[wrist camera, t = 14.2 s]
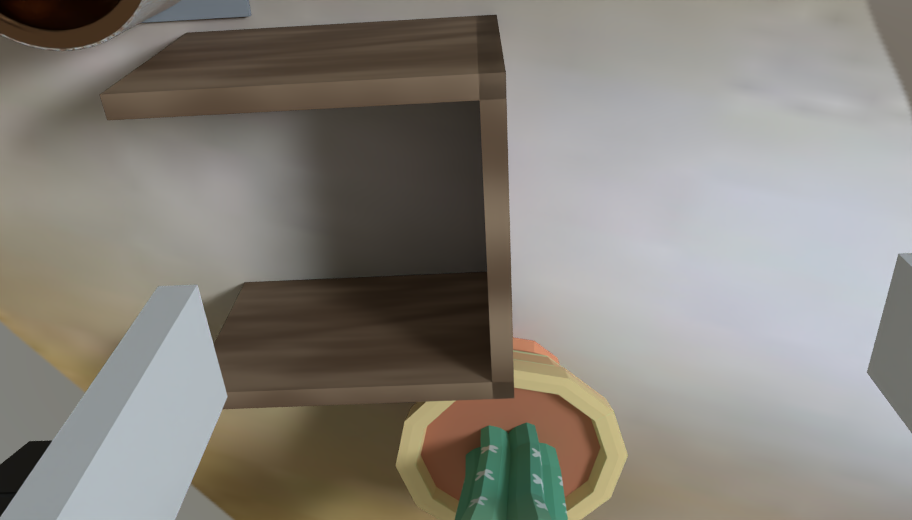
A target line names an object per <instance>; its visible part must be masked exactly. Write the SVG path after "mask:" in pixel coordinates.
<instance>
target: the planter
mask: <svg viewBox="0 0 912 520" xmlns="http://www.w3.org/2000/svg"><path fill="white" fill-rule="evenodd" d="M180 1H181V0H0V35H1V36H3V37H5V38H8V39H10V40H12V41H15V42H17V43H20V44H23V45H26V46H30V47H34V48H38V49H44V50H52V51H72V50H80V49H85V48H89V47H93V46H96V45H98V44H101V43H104V42H106V41H108V40H110V39H112V38H114V37H115V36H117V35H119V34H121V33H122V32H124V31H126V30H128V29H130V28H131V27H133V26H135V25H137V24H139V23H141V22H143V21H145V20H147V19H149V18H151V17H153V16H155V15H157V14H159V13H160V12H162V11H164V10H166V9H168V8H170V7H172V6H173V5H175V4H177V3H178V2H180Z"/></svg>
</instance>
